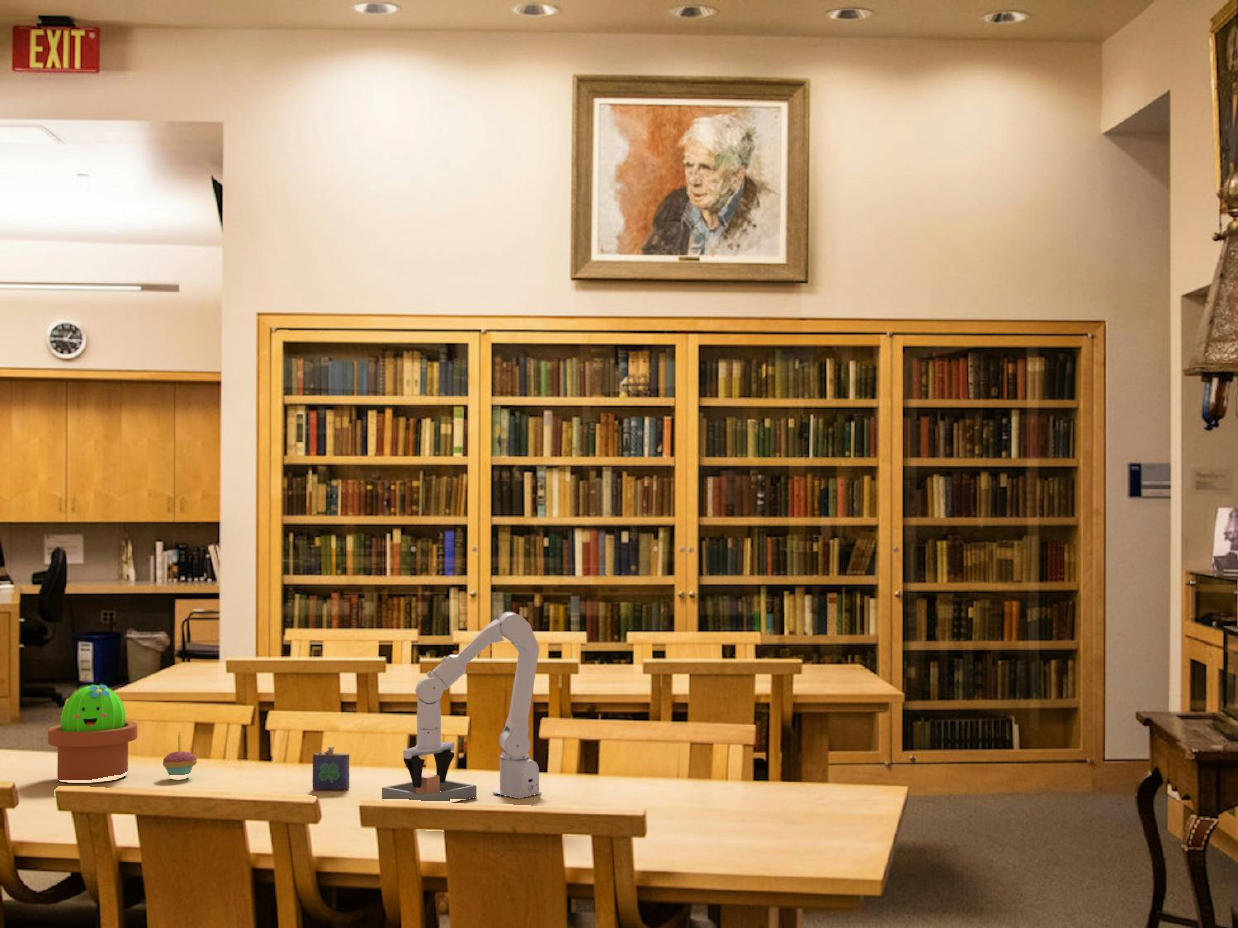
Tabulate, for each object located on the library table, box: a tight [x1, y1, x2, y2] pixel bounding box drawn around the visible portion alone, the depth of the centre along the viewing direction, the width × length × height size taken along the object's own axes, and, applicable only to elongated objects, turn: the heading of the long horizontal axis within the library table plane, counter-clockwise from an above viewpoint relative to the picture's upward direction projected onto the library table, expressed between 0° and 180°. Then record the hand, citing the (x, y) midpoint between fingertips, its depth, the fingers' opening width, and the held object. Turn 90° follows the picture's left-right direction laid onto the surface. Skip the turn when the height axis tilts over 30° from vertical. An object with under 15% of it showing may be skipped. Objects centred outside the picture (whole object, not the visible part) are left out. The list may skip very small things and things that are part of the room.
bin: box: [381, 779, 477, 801], centre depth 331 cm, size 16×16×3 cm
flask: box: [312, 746, 350, 792], centre depth 344 cm, size 9×3×11 cm, turn 88°
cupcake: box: [162, 731, 198, 776], centre depth 360 cm, size 9×8×12 cm
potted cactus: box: [47, 684, 138, 781], centre depth 362 cm, size 22×22×25 cm
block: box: [416, 773, 440, 795], centre depth 331 cm, size 4×4×5 cm
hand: (429, 784), depth 331 cm, fingers open, 7 cm apart
